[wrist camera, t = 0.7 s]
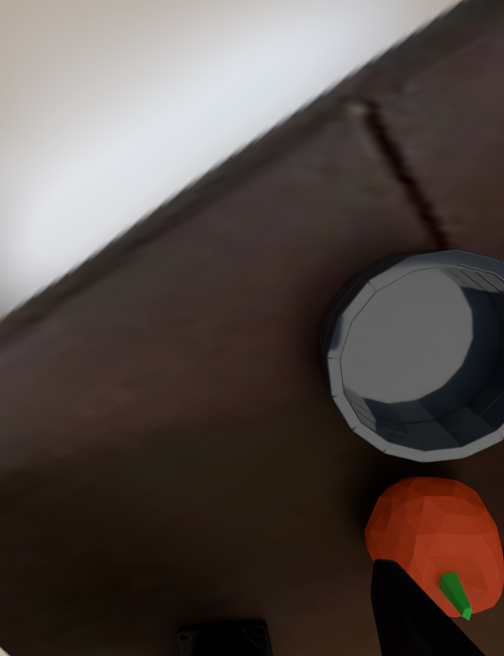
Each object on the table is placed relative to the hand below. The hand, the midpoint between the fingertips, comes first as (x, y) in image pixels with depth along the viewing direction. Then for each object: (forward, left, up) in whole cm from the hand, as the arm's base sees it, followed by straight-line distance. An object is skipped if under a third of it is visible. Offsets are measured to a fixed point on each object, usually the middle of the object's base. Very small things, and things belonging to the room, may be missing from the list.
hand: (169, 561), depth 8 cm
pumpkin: (-11, -10, -14) cm, 21 cm away
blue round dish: (0, -10, -14) cm, 17 cm away
